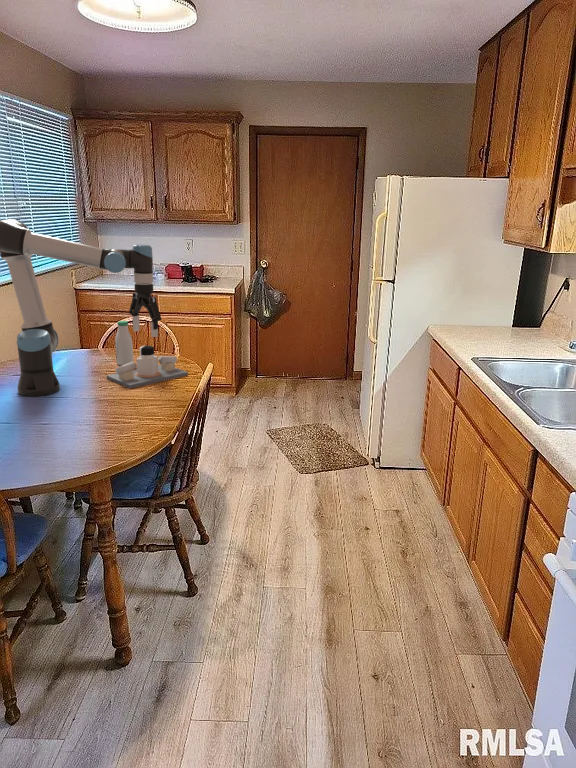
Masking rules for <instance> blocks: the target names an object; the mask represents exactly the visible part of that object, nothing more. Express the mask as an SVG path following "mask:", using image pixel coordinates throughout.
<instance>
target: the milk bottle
mask: <svg viewBox="0 0 576 768" xmlns="http://www.w3.org/2000/svg"><path fill="white" fill-rule="evenodd" d="M116 323H117V331H116V334H115V338H114V340H115V341H114V342H115V345H114V346H115V348H114V349H115V359H116V361H115V363H116V365H118V366H122V365H125V364H127V363H130V362H134V349H133V347H134V346H133V338H132V335H131V333H130V331H129V328H128V327H129V323H128V321H127V320H119V321H117V322H116Z"/></svg>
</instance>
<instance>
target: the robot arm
mask: <svg viewBox="0 0 576 768" xmlns="http://www.w3.org/2000/svg"><path fill="white" fill-rule="evenodd" d="M34 255H36V256H40V257H45V258H49V259H54V260H58V261H62V262H63V261H64V262H69V263H72V264H78V265H82V266H86V267H87V266H88V267H92V268H98V269H101V270H105V271H109V272H110V273H112V274H118V273H121V272H122V271H124V269H133V282H134V285H133V286H134V292H133V293H132V298H131V303H130V307H129V310H128V313H129V315H131V316H132V330H133V333H135V332H139V331H141V330H140V329H141V328H140V327H141V326H140V311H141V310H142V308H143V307H144V308H145V309H146V310H147V312H148V315H149V317H150V319H151V320H150V332H151V333H150V336H151V338H156V337H157V338H158V337H159V321H162V317H161V314H160V313H161V312H160V309H159V307H158V303H157V297H156V296H152V294H153V293H154V284H153V282H154V277H153V276H154V271H153V270H154V266H153V265H154V264H153V263H154V262H153V261H154V260H153V258H154V257H153V248H152V246H151V245H149V244H133V246H132V249H122V248H121V249H119V248H101V247H97V246H93V245H88V244H83V243H78V242H74V241H70V240H65V239H62V238H57V237H52V236H48V235H45V234H38V233H34V232H32V231H31V230H30V229H29V227H28V226H27V225H26V224H25V223H24V222H22V221H20V220H18V219H13V218H7V219H1V220H0V257H1V259H2V260H4V261H5V263H6V264H7V266H8V267H7V268H8V271H9V275H10V277H11V280H12V285H13V288H14V293H15V295H16V298H17V302H18V306H19V309H20V313H21V316H22V320H23V323H22V324H21V326H20V328H21V332H19V333H17V335H16V336H17V337H16V346H17V351H18V359H19V368H20V375H19V379H18V383H17V393H18V394H19V395H21V396H24V397H41V396H48V395H52V394H54V393H57V392H59V390H60V389H61V386H60V382H59V379H58V377H57V376H56V373H55V371H54V364H53V353H54V351H56V349H57V348H58V345H59V336H58V333H57V331H56V329H55V328H54V326H53V322H52V320H51V319H50V318H48V317H47V314H46V310H45V307H44V303H43V299H42V297H41V293H40V288H39V285H38V281H37V277H36V273H35V269H34V266H33V263H32V259H31V258H32V256H34Z"/></svg>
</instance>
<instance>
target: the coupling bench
mask: <svg viewBox="0 0 576 768" xmlns="http://www.w3.org/2000/svg"><path fill="white" fill-rule="evenodd" d="M177 361H178V357H177V356H175V355H172V356H170V355H160V356H158V372H157V373H156V374H155V375H153V376H146V375H137V364H136V362H134V361H133V362H130V363H127V364H125V365H119V366H118V367H115V373H112V374H108V375H106V379H107V380H109V381H111V382H114V383H116V384H119V385H121V386H122V387H125V388H127V389H129V390H130V389H134V388H138V387H143V386H148V385H152V384H157V383H161V382H165V381H169V380H174V379H178V378H181V377H182V378H183V377H187V376H188V375H189V372H188V371H186V370H183V369H180V368H177V367H176V363H177ZM159 363H160V364H159ZM186 375H187V376H186Z"/></svg>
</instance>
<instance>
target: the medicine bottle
mask: <svg viewBox="0 0 576 768" xmlns="http://www.w3.org/2000/svg"><path fill="white" fill-rule="evenodd" d="M158 359H159V356H157V355H155V347H154V346H152V345H148V344H147V345H141V346H140V347H139V357H137V358H136V369H137V375H146V376H153V375H155V374H156V373H157V372H158V365H159V360H158Z"/></svg>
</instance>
